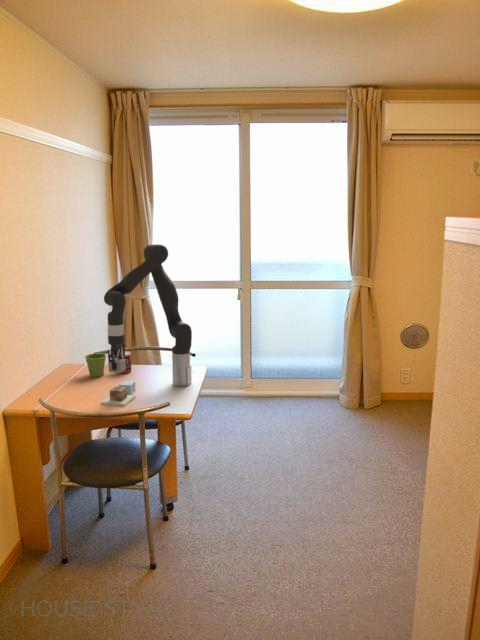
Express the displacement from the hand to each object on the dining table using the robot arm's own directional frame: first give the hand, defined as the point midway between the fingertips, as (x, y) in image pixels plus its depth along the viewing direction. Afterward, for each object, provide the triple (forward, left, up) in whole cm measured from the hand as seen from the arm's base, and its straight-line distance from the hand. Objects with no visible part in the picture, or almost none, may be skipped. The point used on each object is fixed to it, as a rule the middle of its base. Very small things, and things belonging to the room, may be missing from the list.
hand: (117, 368), depth 242 cm
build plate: (0, 0, -16) cm, 16 cm away
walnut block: (0, 0, -15) cm, 15 cm away
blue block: (+1, -12, -16) cm, 20 cm away
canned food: (+17, -43, -17) cm, 49 cm away
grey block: (0, 0, -1) cm, 1 cm away
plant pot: (+29, -33, -17) cm, 47 cm away
